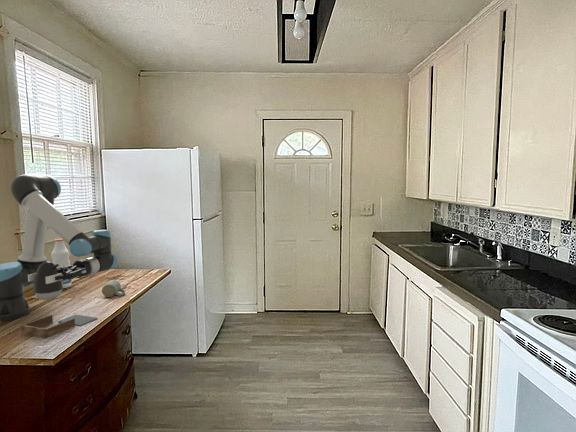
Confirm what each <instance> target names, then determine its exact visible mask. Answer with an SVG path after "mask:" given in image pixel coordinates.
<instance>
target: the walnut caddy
mask: <svg viewBox="0 0 576 432" xmlns="http://www.w3.org/2000/svg"><path fill="white" fill-rule="evenodd" d="M53 317H54V316H53V314H49V315H47V316H43V317H41V318H37V319H35V320H32V321H30V322H27V323H24V324H21V325H20V326H21V335H26V336H31V337H36V338H42V339H49V338H51V337H53V336H56V335H58V334H61V333H64V332H65V331H69V330H70V329H73V328H75V327H76V325H75V318H73V319H70V320H67V321H65V322H62V323H57V324H55V325H52V326H50V327H47V328H44V327H46V326H49V325H51V324H53V323H54V319H53Z"/></svg>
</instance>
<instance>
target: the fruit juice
mask: <svg viewBox="0 0 576 432" xmlns="http://www.w3.org/2000/svg"><path fill="white" fill-rule="evenodd" d="M54 243H55V244H54V247H53V250H52V251H51V254H50V257H51V260H52V261H51V262H52V263H53V264H54V265H56V264H58V265H59V266H58V267H61V266H65V267H67V266H70V265H71V260H70V254H71V252H70V250H68V248H67V247H66V244H65V241H64V240H63V239H62V238H55V239H54ZM62 283H63V289H65V288H70V287H72V283H73V282H72V279H70V280H68V279H66V280H63V279H62Z"/></svg>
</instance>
